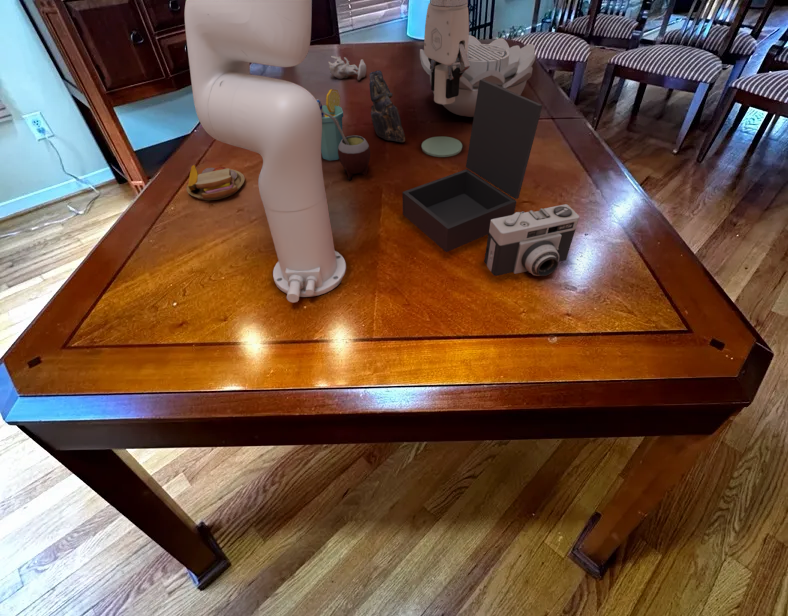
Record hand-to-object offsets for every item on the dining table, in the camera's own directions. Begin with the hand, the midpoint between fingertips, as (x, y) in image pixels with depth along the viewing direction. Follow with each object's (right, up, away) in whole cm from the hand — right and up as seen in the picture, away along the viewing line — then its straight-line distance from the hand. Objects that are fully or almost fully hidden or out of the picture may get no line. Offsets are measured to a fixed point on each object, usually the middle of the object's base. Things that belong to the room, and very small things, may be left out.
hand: (444, 92), depth 101 cm
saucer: (0, -9, +9) cm, 13 cm away
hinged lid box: (+1, -32, -13) cm, 35 cm away
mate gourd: (-20, -19, +1) cm, 28 cm away
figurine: (-26, +27, +46) cm, 60 cm away
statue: (-13, -5, +14) cm, 20 cm away
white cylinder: (0, -1, +1) cm, 2 cm away
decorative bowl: (+12, +7, +25) cm, 28 cm away
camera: (+12, -42, -24) cm, 50 cm away
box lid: (+7, -19, -21) cm, 29 cm away
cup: (-27, -12, +8) cm, 30 cm away
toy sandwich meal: (-50, -22, -1) cm, 55 cm away
